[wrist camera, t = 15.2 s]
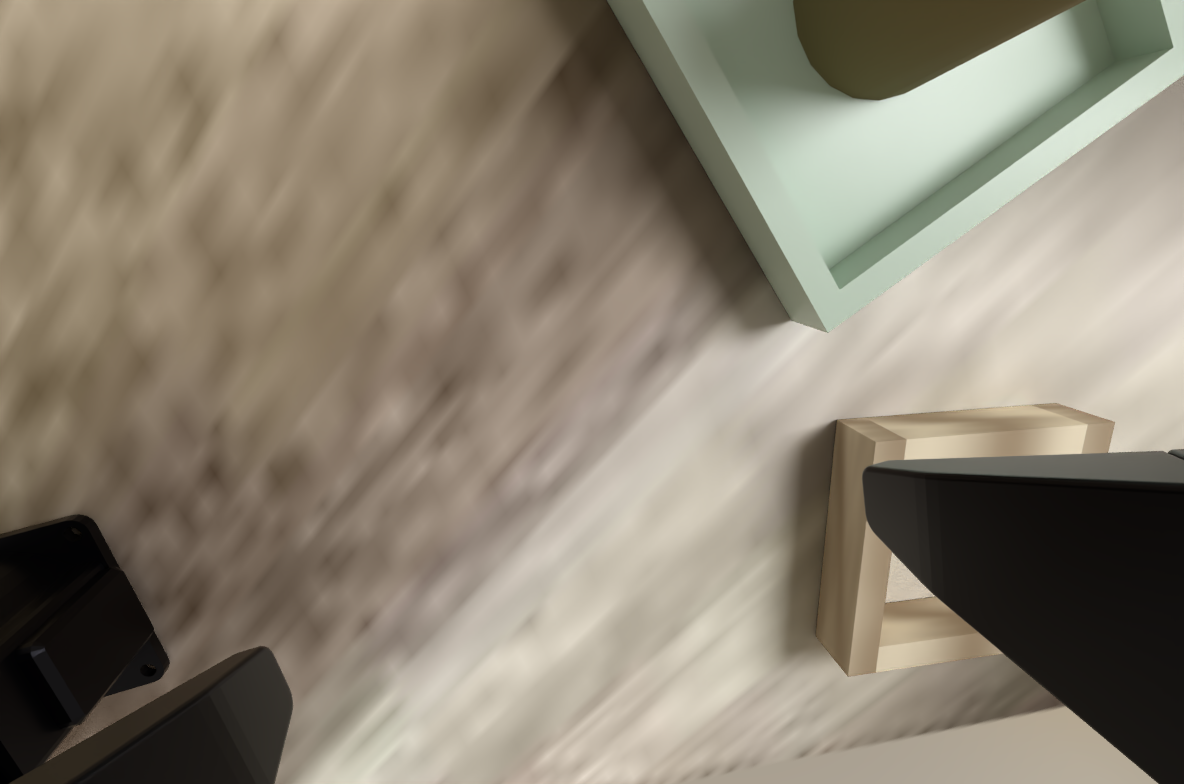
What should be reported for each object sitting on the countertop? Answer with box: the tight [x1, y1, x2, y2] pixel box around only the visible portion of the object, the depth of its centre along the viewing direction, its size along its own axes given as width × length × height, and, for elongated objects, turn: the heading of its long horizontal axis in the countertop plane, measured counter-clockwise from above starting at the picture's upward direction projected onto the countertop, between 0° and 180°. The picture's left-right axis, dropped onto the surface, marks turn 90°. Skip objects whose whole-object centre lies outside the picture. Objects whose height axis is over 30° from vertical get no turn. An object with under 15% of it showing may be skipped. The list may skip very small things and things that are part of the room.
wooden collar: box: [816, 403, 1115, 677], centre depth 25 cm, size 10×10×2 cm
